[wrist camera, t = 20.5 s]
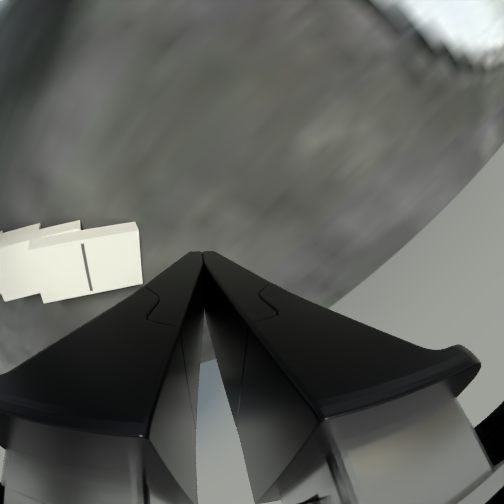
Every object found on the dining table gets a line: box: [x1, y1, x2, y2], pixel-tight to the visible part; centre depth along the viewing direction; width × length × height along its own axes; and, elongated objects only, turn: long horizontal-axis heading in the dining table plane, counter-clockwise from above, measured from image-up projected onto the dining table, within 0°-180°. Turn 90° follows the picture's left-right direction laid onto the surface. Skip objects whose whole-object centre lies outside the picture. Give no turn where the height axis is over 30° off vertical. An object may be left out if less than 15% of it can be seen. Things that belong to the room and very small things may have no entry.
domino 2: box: [0, 220, 82, 302], centre depth 19 cm, size 2×5×9 cm
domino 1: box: [27, 222, 143, 303], centre depth 20 cm, size 2×5×9 cm
